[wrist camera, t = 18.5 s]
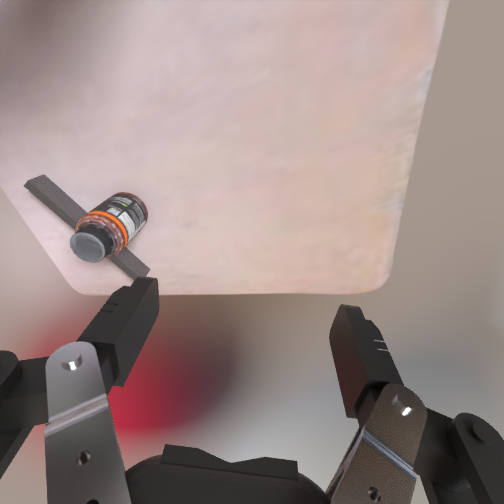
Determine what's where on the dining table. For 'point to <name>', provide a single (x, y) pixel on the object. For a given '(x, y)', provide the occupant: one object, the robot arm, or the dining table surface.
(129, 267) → the rail
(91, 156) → the dining table surface
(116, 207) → the supplement bottle
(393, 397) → the robot arm
